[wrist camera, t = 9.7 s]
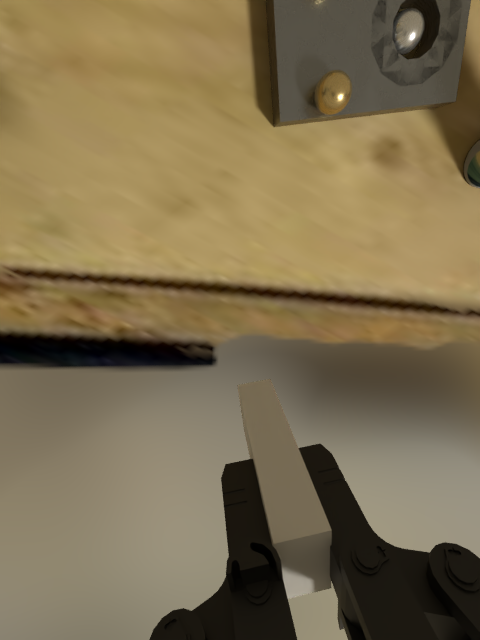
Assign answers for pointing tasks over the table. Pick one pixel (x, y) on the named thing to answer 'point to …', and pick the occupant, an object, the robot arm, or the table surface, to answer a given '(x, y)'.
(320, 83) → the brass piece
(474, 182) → the lotion bottle
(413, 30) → the steel ball
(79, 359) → the table surface
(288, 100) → the bearing plate
